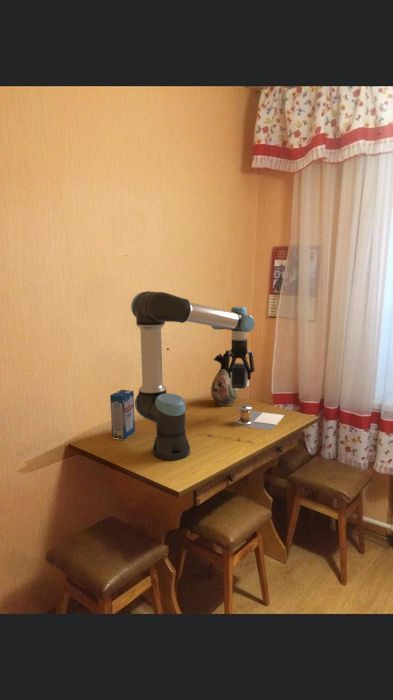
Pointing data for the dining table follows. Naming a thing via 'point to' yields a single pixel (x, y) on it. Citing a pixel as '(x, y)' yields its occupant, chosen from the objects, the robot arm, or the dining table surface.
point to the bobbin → (244, 414)
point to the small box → (239, 375)
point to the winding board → (263, 420)
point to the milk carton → (122, 414)
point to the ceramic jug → (223, 384)
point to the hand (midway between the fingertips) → (239, 385)
